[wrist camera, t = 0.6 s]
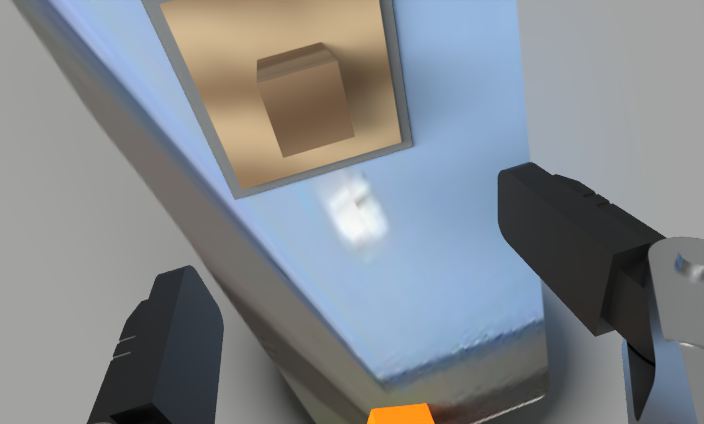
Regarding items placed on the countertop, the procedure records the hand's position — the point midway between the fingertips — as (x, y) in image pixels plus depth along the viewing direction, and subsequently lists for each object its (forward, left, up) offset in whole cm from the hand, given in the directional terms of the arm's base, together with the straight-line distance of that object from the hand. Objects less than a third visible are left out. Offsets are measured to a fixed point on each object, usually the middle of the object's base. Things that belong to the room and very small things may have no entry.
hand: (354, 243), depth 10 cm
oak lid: (0, 0, -18) cm, 18 cm away
